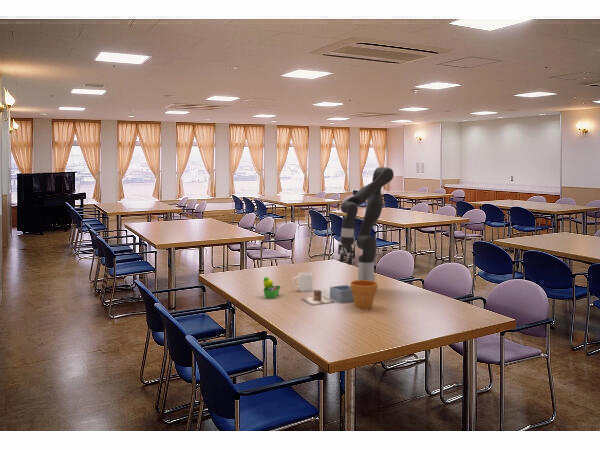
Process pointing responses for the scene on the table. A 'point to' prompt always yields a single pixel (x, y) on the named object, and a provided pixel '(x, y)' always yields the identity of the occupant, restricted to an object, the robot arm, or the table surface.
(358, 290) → the flower pot
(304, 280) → the cup
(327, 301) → the lid
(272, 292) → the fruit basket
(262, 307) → the table surface
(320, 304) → the mat
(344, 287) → the blue gray open box
